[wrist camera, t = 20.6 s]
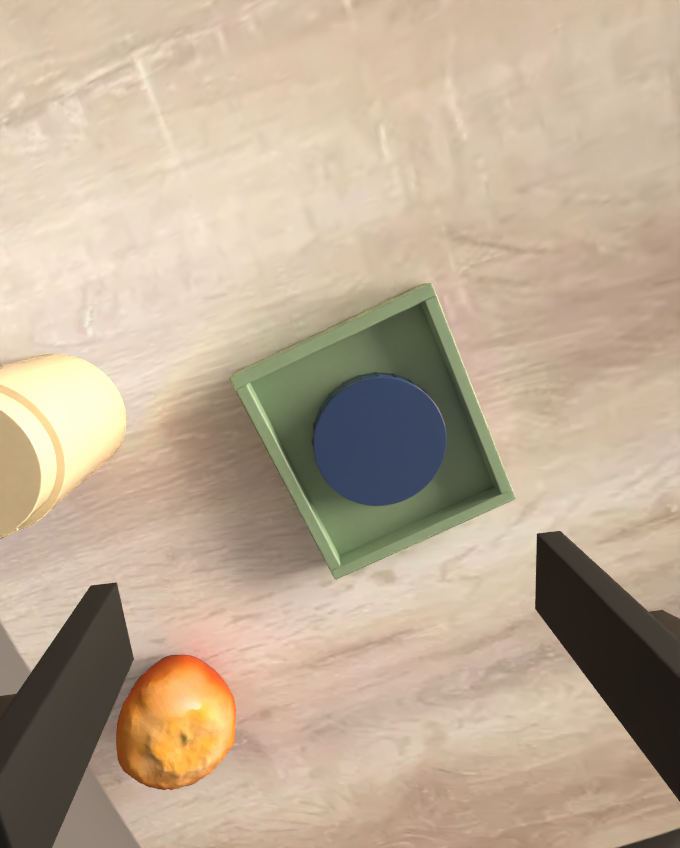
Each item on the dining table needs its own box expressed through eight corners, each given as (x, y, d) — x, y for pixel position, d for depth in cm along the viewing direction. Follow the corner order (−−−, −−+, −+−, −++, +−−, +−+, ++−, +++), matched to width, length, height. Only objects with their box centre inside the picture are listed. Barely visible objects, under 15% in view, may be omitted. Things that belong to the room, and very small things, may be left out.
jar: (-28, 386, 32) (-178, 430, 22) (84, 332, 32) (-17, 352, 22) (43, 492, 35) (-65, 576, 24) (149, 442, 34) (84, 507, 24)
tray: (233, 372, 33) (229, 378, 31) (423, 283, 33) (431, 282, 31) (333, 564, 37) (335, 580, 35) (504, 487, 37) (516, 499, 35)
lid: (465, 419, 35) (474, 427, 33) (388, 518, 36) (393, 530, 34) (362, 345, 33) (366, 348, 31) (286, 452, 34) (285, 461, 33)
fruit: (84, 711, 37) (88, 763, 30) (167, 622, 41) (188, 650, 34) (163, 775, 39) (184, 838, 32) (236, 684, 43) (269, 724, 35)
